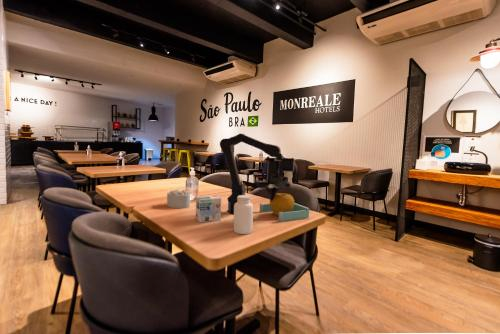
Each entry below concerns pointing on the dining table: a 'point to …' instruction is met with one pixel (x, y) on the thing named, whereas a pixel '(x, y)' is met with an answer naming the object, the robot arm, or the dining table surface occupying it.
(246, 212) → the pill bottle
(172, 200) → the lumpy-topped squat cylinder
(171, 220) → the dining table surface
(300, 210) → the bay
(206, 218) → the light bulb box
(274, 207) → the apple
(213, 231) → the dining table surface
